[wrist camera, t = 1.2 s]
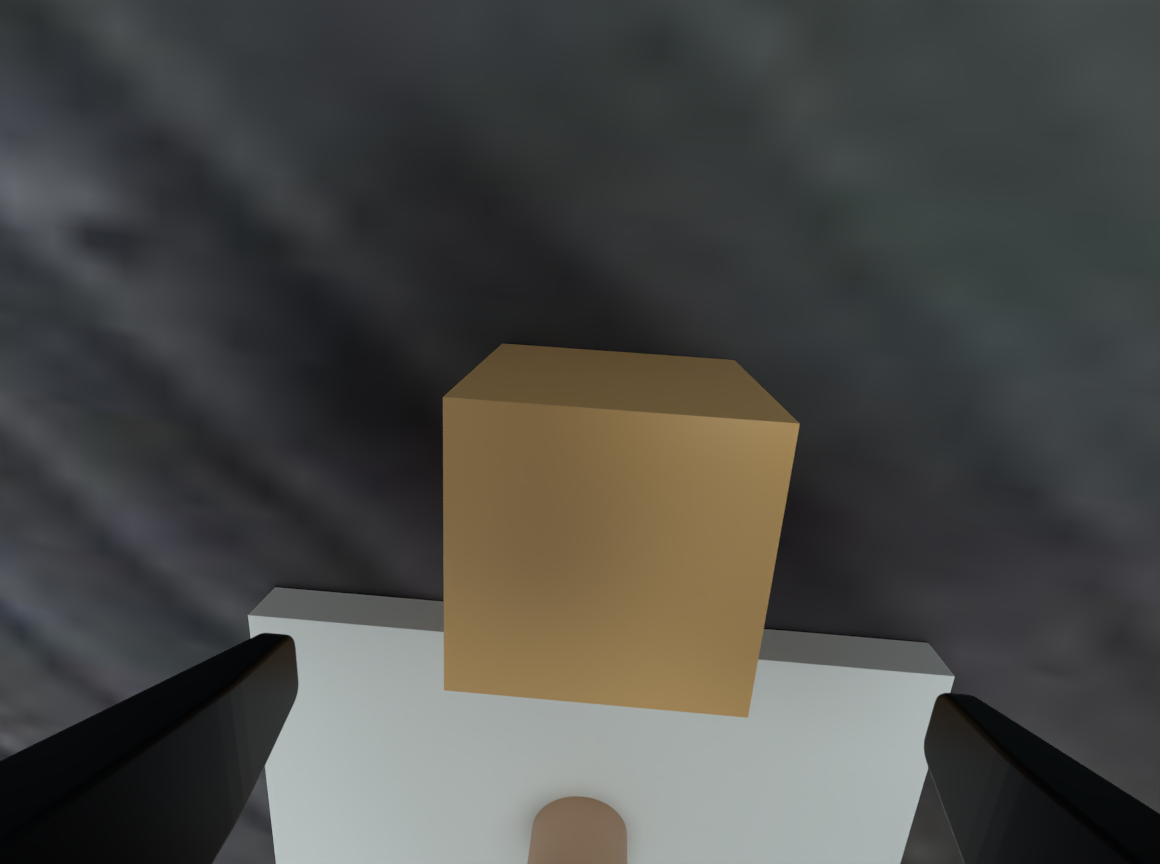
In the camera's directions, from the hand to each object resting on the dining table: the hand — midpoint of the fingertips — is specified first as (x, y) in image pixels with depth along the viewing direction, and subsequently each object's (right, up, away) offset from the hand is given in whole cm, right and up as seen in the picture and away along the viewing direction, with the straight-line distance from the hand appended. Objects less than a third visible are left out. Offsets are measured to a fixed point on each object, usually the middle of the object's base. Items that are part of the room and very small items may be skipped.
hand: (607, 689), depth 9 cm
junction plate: (0, -9, +12) cm, 15 cm away
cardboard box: (0, +3, +9) cm, 9 cm away
